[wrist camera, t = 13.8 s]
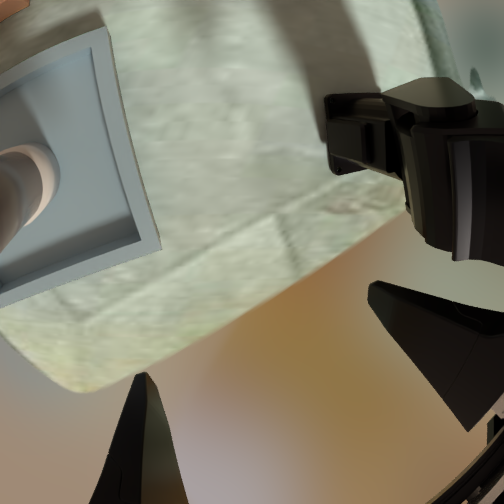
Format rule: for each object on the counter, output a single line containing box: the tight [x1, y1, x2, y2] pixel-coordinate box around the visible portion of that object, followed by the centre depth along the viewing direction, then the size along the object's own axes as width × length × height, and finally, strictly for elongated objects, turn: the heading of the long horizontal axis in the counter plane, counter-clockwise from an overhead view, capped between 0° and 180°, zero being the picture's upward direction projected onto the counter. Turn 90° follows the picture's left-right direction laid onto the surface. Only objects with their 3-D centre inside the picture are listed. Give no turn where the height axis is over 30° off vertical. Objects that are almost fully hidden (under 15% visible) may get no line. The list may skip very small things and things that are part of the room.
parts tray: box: [0, 26, 162, 308], centre depth 13 cm, size 14×14×2 cm
